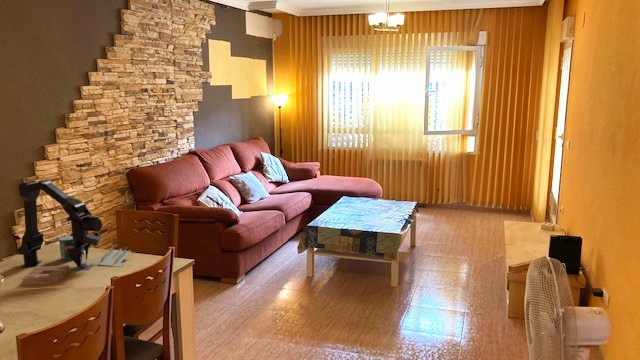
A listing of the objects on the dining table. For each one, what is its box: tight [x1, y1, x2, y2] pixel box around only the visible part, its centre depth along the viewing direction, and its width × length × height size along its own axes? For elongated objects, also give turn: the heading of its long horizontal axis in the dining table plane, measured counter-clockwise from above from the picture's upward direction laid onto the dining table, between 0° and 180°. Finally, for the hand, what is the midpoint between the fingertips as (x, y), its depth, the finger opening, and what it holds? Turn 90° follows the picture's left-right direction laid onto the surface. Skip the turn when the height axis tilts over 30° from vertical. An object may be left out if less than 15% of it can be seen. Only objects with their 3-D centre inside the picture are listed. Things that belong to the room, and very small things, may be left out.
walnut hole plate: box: [21, 264, 71, 286], centre depth 220 cm, size 14×14×3 cm
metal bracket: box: [91, 247, 132, 268], centre depth 238 cm, size 14×6×15 cm
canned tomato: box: [58, 234, 75, 262], centre depth 242 cm, size 8×8×11 cm
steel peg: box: [79, 250, 88, 269], centre depth 230 cm, size 3×3×8 cm
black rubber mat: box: [72, 264, 93, 272], centre depth 231 cm, size 7×7×1 cm
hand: (82, 263), depth 230 cm, fingers open, 9 cm apart
